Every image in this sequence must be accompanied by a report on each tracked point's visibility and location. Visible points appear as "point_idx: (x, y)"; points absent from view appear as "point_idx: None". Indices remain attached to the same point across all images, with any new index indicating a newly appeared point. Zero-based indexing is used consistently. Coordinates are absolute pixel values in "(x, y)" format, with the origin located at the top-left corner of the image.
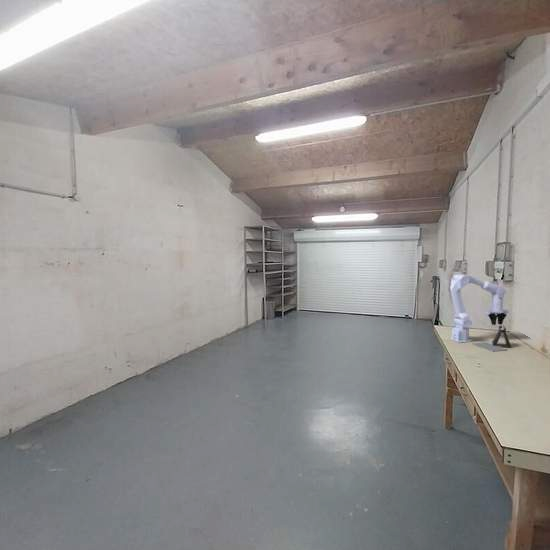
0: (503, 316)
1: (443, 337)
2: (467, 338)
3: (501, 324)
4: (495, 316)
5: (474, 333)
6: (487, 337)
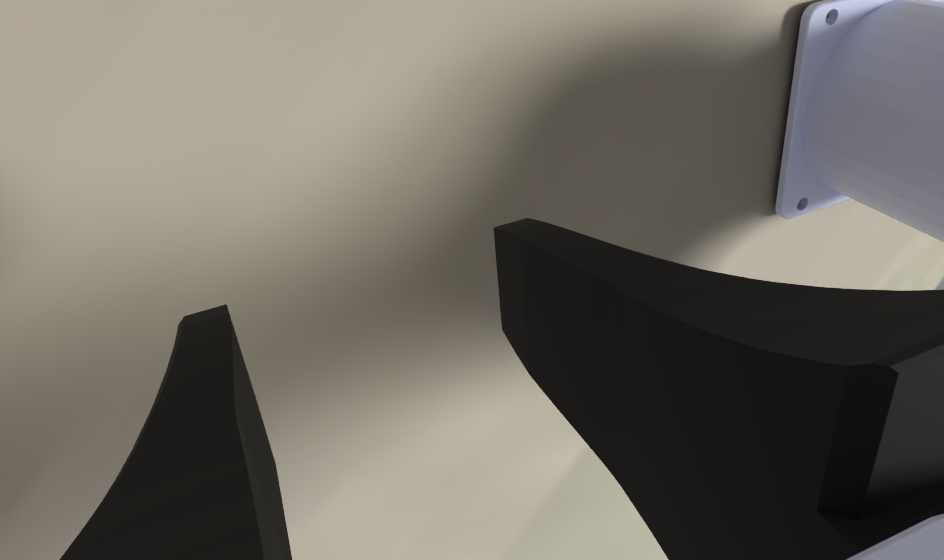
0: (247, 548)
1: (936, 255)
2: (927, 12)
3: (203, 313)
4: (919, 310)
5: (373, 541)
6: (319, 316)
